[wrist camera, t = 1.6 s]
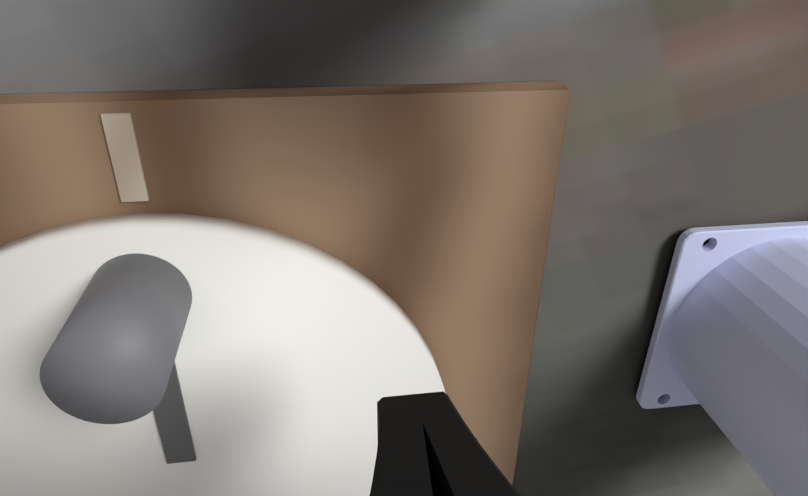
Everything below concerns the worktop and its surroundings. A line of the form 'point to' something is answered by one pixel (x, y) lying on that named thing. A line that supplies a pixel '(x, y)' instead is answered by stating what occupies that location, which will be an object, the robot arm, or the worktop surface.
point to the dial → (194, 362)
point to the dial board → (333, 197)
